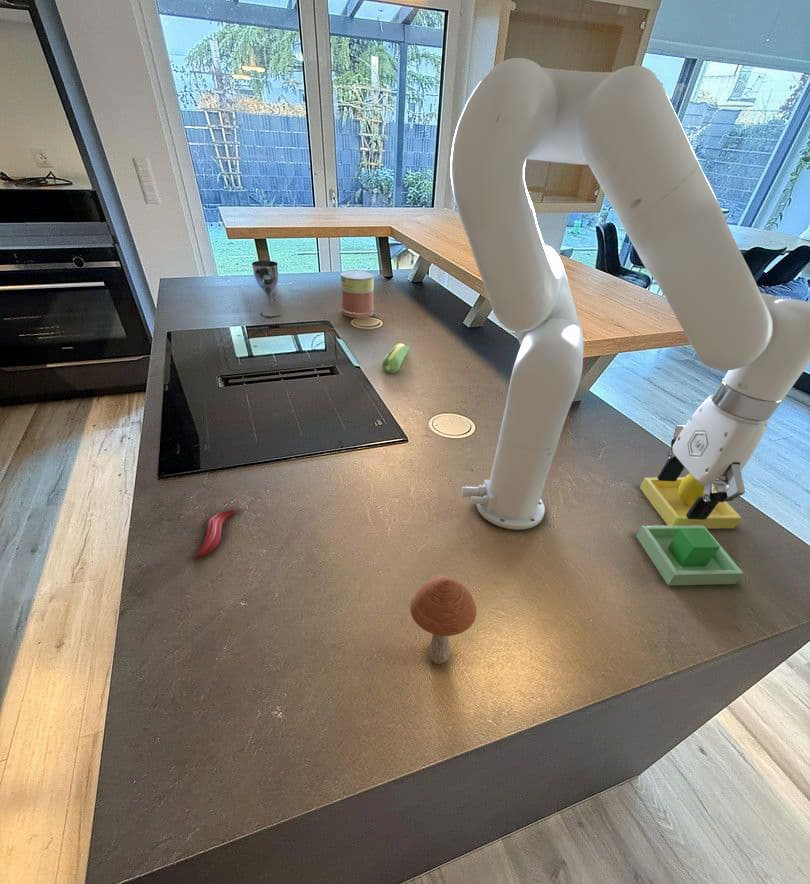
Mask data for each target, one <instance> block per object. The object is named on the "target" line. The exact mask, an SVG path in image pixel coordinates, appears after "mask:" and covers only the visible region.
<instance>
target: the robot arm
mask: <svg viewBox="0 0 810 884" xmlns="http://www.w3.org/2000/svg"><path fill="white" fill-rule="evenodd" d="M685 132H686V131H685V130H684V128H683V126H682V123H681V121H680V119H679V117H678V114H677V113H676V111H675V109H674V106H673V104H672V102H671V100H670V98H669V96H668V94H667V92H666V90H665V87H664V86H663V84H662V82H661V81H660V79H659V78H658V77H657V75H656V74H655V73H654V72H653V71H652V70H651V69H649V68H647V67H646V66H643V65H637V64H636V65H628V66H624V67H622V68H619V69H617V70H616V71H584V70H583V71H582V70H570V69H569V70H568V69H560V68H548V67H542V66H541V65H539V64H538V63H537V62H535V61H533V60H531V59H528V58H526V57H525V58H524V57H513V58H508V59H506V60H503V61H501V62H499V63H498V64H496V65H495V66H493V68H491V69H490V70H489V71H488V72H487V73H486V74H485V75H484V76H483V78H482V79H481V80H480V81H479V82H478V84H477V85H476V86H475V88H474V90H473V91H472V92H471V95H470V96H469V98H468V100H467V101H466V103H465V106H464V108H463V110H462V112H461V115H460V117H459V120H458V122H457V125H456V128H455V132H454V136H453V140H452V147H451V154H450V182H451V189H452V195H453V199H454V203H455V206H456V210H457V214H458V216H459V218H460V221H461V224H462V227H463V229H464V233H465V235H466V238H467V240H468V243H469V246H470V249H471V252H472V256H473V259H474V262H475V264H476V266H477V269H478V273H479V275H480V278H481V281H482V283H483V286H484V289H485V291H486V294H487V298H488V300H489V301H488V302H489V303H490V307H491V309H492V311H493V315H494V317H496V319H497V321H498V322H499V323H500V324H502V326H504V328H506V329H508V330H510V331H513V332H515V335H516V337H517V341H518V344H519V346H520V347H519V349H518V352H517V355H516V358H515V361H514V363H513V367H512V372H511V375H510V379H509V380H510V381H509V384H508V385H509V386H508V391H507V397H506V402H505V408H504V412H503V415H502V422H501V426H500V432H499V436H498V441H497V445H496V450H495V454H494V459H493V463H492V467H491V473H490V476H489V479H484V480H483V484H479V485H477V486H461V488H460V495H461V498H469V503H470V505H476V509H477V511H478V513H479V514H480V515H481V516H482V517H483V518H484V519H485V520H487V521H488V522H489V523H491V524H492V525H494V526H497V527H500V528H503V529H508V530H514V531H515V530H528V529H531V528H534V527H536V526H537V525H539V524H540V523H541V522H542V521H543V519H544V516H545V513H546V507H545V504H544V502H543V500H542V498H541V497H542V494H543V491H544V488H545V485H546V481H547V479H548V476H549V473H550V469H551V466H552V464H553V460H554V457H555V455H556V452H557V451H556V450H557V448H558V445H559V441H560V438H561V435H562V432H563V428H564V426H565V422H566V419H567V417H568V414H569V411H570V408H571V406H572V404H573V401H574V399H575V397H576V394H577V391H578V388H579V386H580V382H581V379H582V372H583V366H584V365H583V364H584V363H583V362H584V347H585V346H584V345H585V344H584V342H585V340H584V334H583V330H582V326H581V322H580V319H579V316H578V312H577V309H576V305H575V302H574V298H573V295H572V292H571V287H570V284H569V281H568V276H567V273H566V271H565V267H564V264H563V263H562V260H561V258H560V256H559V254H558V253H557V252H556V250H555V249H554V248H553V247H552V246H550V245H548V244H547V243H545V242H544V239H543V237H542V234H541V231H540V228H539V225H538V221H537V217H536V212H535V208H534V206H533V202H532V200H531V197H530V194H529V192H528V189H527V185H526V180H525V168H526V163H527V160H529V161H541V162H552V163H559V164H560V163H561V164H569V165H570V164H571V165H584V166H585V165H586V166H588V167H589V168H590V170H591V173H592V174H593V175H594V178H595V179H596V181H597V183H598V184H599V187H600V189H601V190H602V192H603V194H604V195H605V197H606V199H607V200H608V203H609V204H610V206H611V207H612V210H613V211H614V213H615V215H616V217H617V219H618V220H619V222H620V224H621V226H622V228H623V230H624V232H625V234H626V235H627V237H628V239H629V241H630V242H631V244H632V246H633V248H634V250H635V252H636V253H637V255H638V257H639V259H640V261H641V263H642V264H643V266H644V267H645V269H646V270H647V271H648V273H649V274H650V276H651V277H652V279H653V280H654V281H655V283H656V284H657V286H658V287H659V290H660V291H661V292H662V294H663V296H664V298H665V300H666V302H667V303H668V305H669V308H670V309H671V310H672V313H673V314H674V316H675V318H676V320H677V321H678V323H679V325H680V327H681V329H682V330H683V332H684V334H685V336H686V338H687V340H688V342H689V343H690V345H691V347H692V349H693V350H694V352H695V354H696V356H697V358H698V359H699V361H701V363H702V364H704V365H705V366H707V367H708V368H711V369H713V370H717V371H727V372H726V373H725V375H724V377H723V378H722V379H721V380H720V384H719V385H718V387H717V389H716V390H715V391H714V393H713V394H711V395H709V396H708V397H706V399H705V400H704V401H703V402H701V404H700V405H699V406H698V408H697V409H696V410H695V411H694V413H693V414H692V415H691V417H690V418H689V419H688V420H687V422H686V424H685V425H684V424H683V425H682V424H681V425H680V424H678V425H676V426H675V429H674V434H673V438H672V439H671V442H670V451H668V454H667V458H668V459H667V460H666V462H665V464H664V465H663V467H662V469H661V470H660V472H659V474H658V476H656V478H658V480H659V481H676V480H677V478H680V475H681V474H682V472H683V470H684V469H686V471H687V472H688V474H689V473H690V474H691V475H692V476H693V477H694V478H695V479H696V480H697V481H698V482H699V483H702V484H704V492H703V497H698V498H697V500H696V501H695V503H694V504H693V506H692V507H691V508H690V510H689V511H688V513H687V514H686V517H687V518H688V519H699V520H704V519H706V518H707V517H708V516H709V515H710V513H711V512H712V511H713V509H714V508H715V507H716V505H717V504H718V503H719V502H725V501H726V502H732V501H734V500H735V499H736V498H739V497H740V496H742V495H744V494H745V493H746V491H747V489H746V486H745V485H746V484H745V481H744V478H743V474H742V471H743V469H744V468H745V466H746V465H747V463H748V462H749V461H750V459H751V457H752V456H753V454H754V453H755V450H756V449H757V447H758V445H759V444H760V442H761V440H762V439H763V436H764V433H765V432H766V429H767V427H768V423H767V422H768V421H769V420H770V418H771V417H772V416H773V415H774V413H775V412H776V410H777V409H778V407H779V406H780V404H781V403H782V402H783V401H784V399H785V398H786V396H787V395H788V393H789V392H790V391H791V390H792V388H793V386H794V385H795V384H796V382H797V380H798V379H799V378H800V377H801V376H802V374H803V373H804V371H805V370H806V369H807V367H808V366H809V364H810V301H807V300H803V299H797V298H796V299H795V298H780V297H775V296H772V295H769V294H766V293H763V292H761V291H760V288H759V287H758V284H757V282H756V280H755V278H754V276H753V274H752V271H751V269H750V267H749V265H748V263H747V262H746V260H745V258H744V256H743V254H742V252H741V249H740V247H739V246H738V244H737V242H736V239H735V238H734V236H733V234H732V231H731V229H730V227H729V224H728V223H727V219H726V217H725V215H724V213H723V210H722V207H721V206H720V203H719V201H718V199H717V197H716V195H715V193H714V191H713V188H712V187H711V184H710V183H709V181H708V179H707V176H706V174H705V172H704V171H703V168H702V165H701V164H700V162H699V160H698V158H697V155H696V153H695V151H694V150H693V147H692V144H691V143H690V141H689V138H688V136H687V134H686V133H685ZM714 484H716V485H717V488H716V491H717V493H713V485H714ZM716 485H715V486H716Z"/></svg>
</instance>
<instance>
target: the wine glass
mask: <svg viewBox="0 0 810 884" xmlns="http://www.w3.org/2000/svg"><path fill="white" fill-rule="evenodd" d="M251 268H252V272H253V276H254V280H255V282H256V284H257V285H258V286H259V288H260V289H261V290H262V291H263V292H264V293H265V295H266V297H267V301H268V307H272V308H273V306H272V294H273V292H274V290H275V289H276V287H277V286H278V282H279V264H278V262H276V261H273V260H272V261H271V260H257V261H253V262H251Z"/></svg>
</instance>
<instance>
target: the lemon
mask: <svg viewBox="0 0 810 884" xmlns="http://www.w3.org/2000/svg"><path fill="white" fill-rule="evenodd" d="M683 478H684V479H683V480H682V482H681V484H680V486H679V489H678V495H679V497H680V499H681V500H682V501H683V502H684V503H685V505H693V504H694V503H695V501H696V500H697V498H698V497H703V492H704V484H702V483H699V482H698V481H697V480H696V479H695V478H694V477H693V476H692V475H691V474H690V473H689V472H688V473H687V475H685V476H684V477H683ZM714 489H715V490H716V484H714V485H713V492H714Z"/></svg>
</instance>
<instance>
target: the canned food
mask: <svg viewBox="0 0 810 884" xmlns="http://www.w3.org/2000/svg"><path fill="white" fill-rule="evenodd" d="M374 278H375V274H374V273H372V272H370V271H367V270H362V269H361V270H359V269H350V270H349V269H348V270H344V271H341V272H340V293H341V314H343V315H344V316H346V317H348V318H349V317H350V318H358V319H359V318H363V319H364V318H369V317H371V316H373V315H374V313H375V312H374V302H375V301H374V297H375V295H374V289H375V288H374V287H375V285H374V283H375V281H374V280H375V279H374ZM342 308H343V309H344V310H346V311H349V312H355V313H367V312H370V311H372V310H373V312H371V313H369V314H362V315H356V314H349V313H346V312H344V311H343V310H342Z"/></svg>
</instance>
